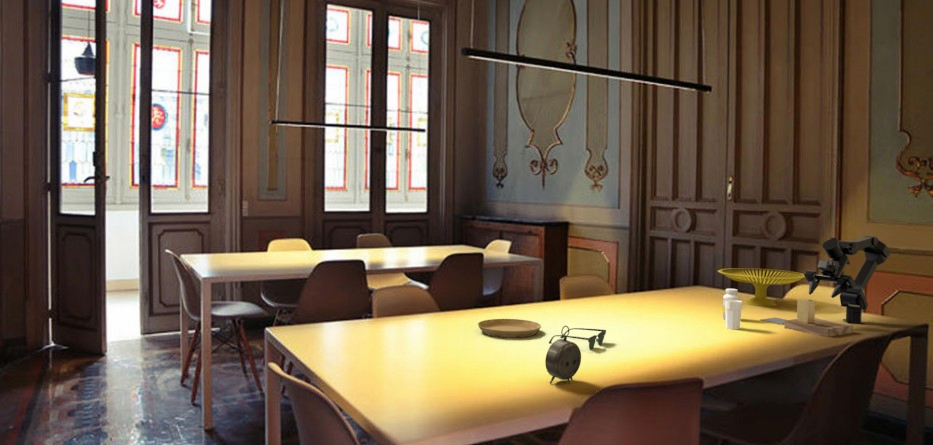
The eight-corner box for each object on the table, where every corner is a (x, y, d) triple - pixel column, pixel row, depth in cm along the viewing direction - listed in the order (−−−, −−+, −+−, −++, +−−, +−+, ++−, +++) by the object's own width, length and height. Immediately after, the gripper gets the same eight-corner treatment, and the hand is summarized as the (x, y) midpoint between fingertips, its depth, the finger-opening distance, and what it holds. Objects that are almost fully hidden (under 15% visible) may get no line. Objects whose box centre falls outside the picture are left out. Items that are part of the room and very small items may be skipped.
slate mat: (775, 318, 289) (775, 317, 289) (796, 322, 280) (796, 321, 280) (760, 320, 284) (760, 319, 284) (781, 324, 275) (781, 323, 275)
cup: (741, 327, 269) (742, 300, 268) (741, 330, 263) (742, 302, 262) (724, 325, 271) (725, 299, 271) (723, 328, 266) (724, 301, 265)
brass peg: (803, 328, 269) (804, 298, 268) (814, 330, 265) (815, 300, 264) (796, 329, 266) (797, 299, 266) (807, 331, 262) (808, 301, 262)
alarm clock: (570, 376, 196) (571, 321, 195) (584, 381, 191) (585, 325, 191) (543, 383, 189) (544, 326, 188) (557, 388, 185) (558, 329, 184)
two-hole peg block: (809, 324, 277) (809, 317, 277) (852, 332, 261) (853, 325, 261) (784, 328, 268) (784, 320, 268) (827, 336, 253) (828, 329, 253)
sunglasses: (563, 337, 249) (563, 323, 249) (607, 343, 240) (607, 329, 240) (544, 345, 235) (544, 331, 235) (590, 352, 226) (590, 337, 226)
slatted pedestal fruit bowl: (726, 308, 310) (727, 276, 310) (709, 295, 350) (710, 266, 349) (819, 312, 304) (820, 279, 303) (791, 298, 343) (792, 269, 343)
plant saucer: (507, 323, 272) (507, 315, 272) (553, 333, 255) (554, 324, 255) (464, 332, 256) (464, 323, 255) (511, 343, 238) (511, 334, 238)
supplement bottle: (738, 318, 288) (739, 288, 287) (739, 321, 282) (740, 290, 281) (722, 317, 290) (723, 287, 290) (722, 319, 284) (723, 289, 283)
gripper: (806, 251, 278) (790, 280, 273) (852, 255, 262) (836, 286, 257) (817, 268, 282) (801, 297, 277) (862, 273, 267) (847, 303, 262)
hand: (820, 295), depth 268 cm, fingers open, 9 cm apart
